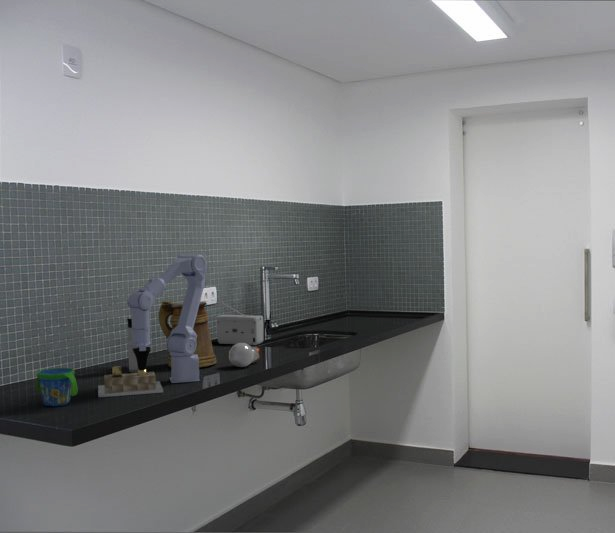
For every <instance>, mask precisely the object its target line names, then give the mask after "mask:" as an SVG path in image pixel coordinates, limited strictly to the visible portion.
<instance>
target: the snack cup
mask: <svg viewBox="0 0 615 533" xmlns="http://www.w3.org/2000/svg"><path fill="white" fill-rule="evenodd" d="M75 372H76V371H75V369H73V368H70V367H56V368H55V367H54V368H53V367H52V368H45V369H41V370H39V371H37V374H36V376H37V377H36V381H35V390H36V391H37V392H41V397H42V402H43V403H42V404H43V405H44V406H48V407H62V406H63V407H64V406H67V405H68V404H69V403H70V401H71V397H74V396H76V395H77V394H78V391H79V387H78V384H77V379H76V377H75V375H76V374H75Z"/></svg>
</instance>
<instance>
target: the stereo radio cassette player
mask: <svg viewBox="0 0 615 533" xmlns="http://www.w3.org/2000/svg"><path fill="white" fill-rule="evenodd" d="M219 303H221V304H223V305H224V306H226V307H227V308H230V309H231V310H232V311H234V312H236V313H238V314H222V315H216V320H217V321H216V322H217V342H218V344H220V345H222V344H223V345H235V344H237V343H246V344H248V345H250V346H253V347H256V346H257V345H260V344H263V342H264V317H263V315H257V314H255V315H253V314H251V315H250V314H248V315H247V314H243V313H241V312H239V311H238V310H236V309H234V308H232V307H231V306H229V305H227V304H225V303H223V302H222V301H220V300H219Z"/></svg>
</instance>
